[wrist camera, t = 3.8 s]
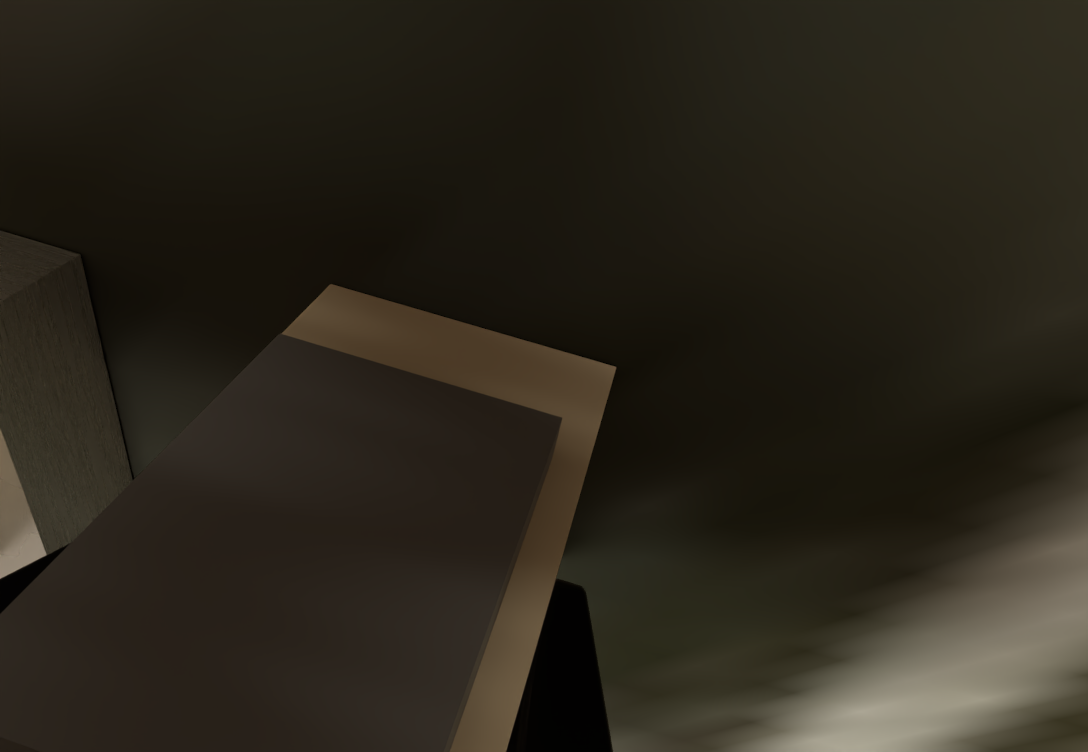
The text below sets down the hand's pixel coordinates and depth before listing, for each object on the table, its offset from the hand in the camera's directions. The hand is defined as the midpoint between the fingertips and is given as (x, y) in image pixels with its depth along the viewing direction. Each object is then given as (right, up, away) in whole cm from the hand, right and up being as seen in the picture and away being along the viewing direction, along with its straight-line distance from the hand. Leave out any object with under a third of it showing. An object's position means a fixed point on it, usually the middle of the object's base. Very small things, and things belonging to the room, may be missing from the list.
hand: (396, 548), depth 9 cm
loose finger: (+1, +1, +2) cm, 2 cm away
